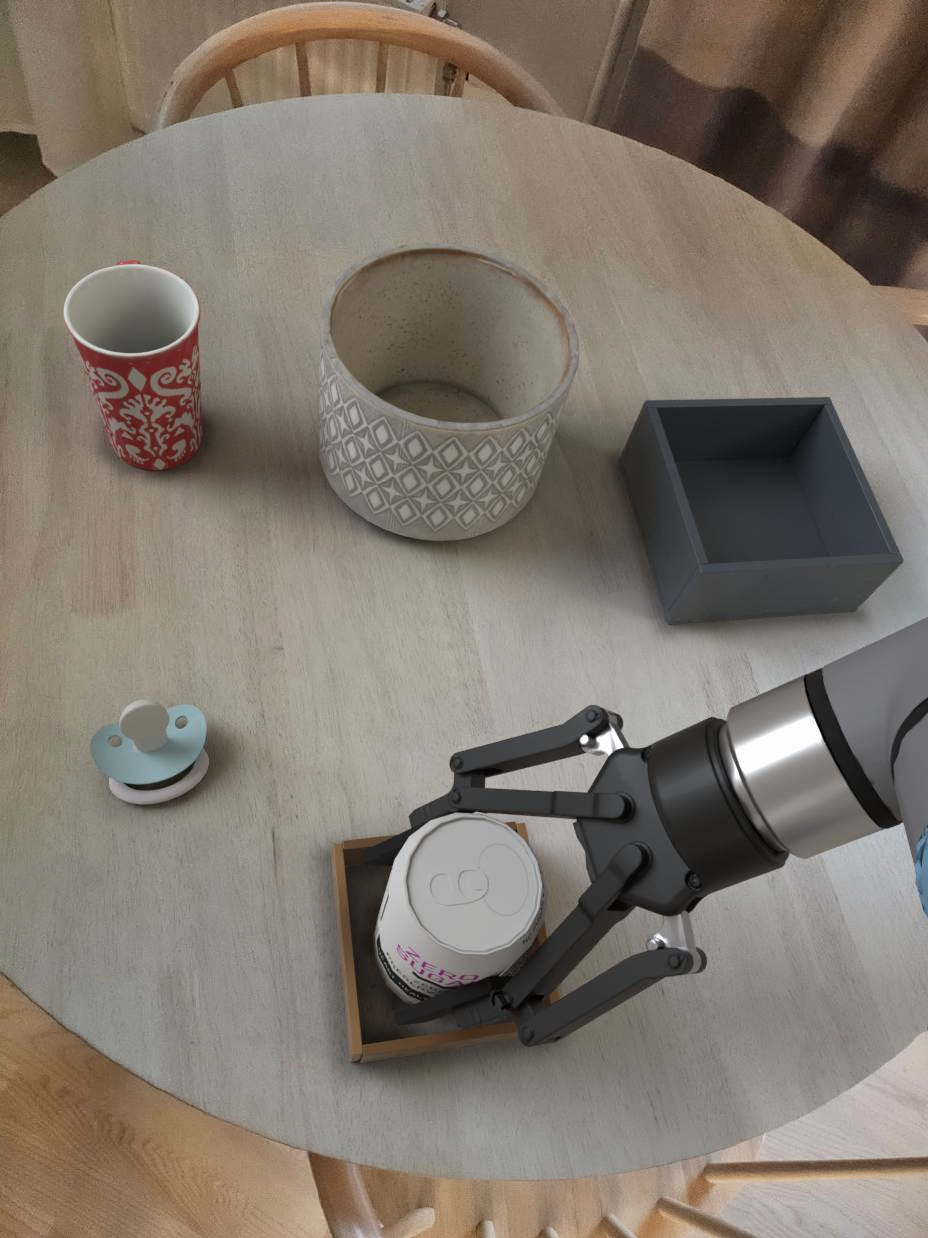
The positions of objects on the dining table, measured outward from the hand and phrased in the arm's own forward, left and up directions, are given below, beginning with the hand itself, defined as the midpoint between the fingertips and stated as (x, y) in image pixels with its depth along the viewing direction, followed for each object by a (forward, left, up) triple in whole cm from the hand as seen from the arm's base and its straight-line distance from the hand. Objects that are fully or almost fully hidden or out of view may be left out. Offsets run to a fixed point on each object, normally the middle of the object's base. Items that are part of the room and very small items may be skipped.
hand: (393, 935), depth 54 cm
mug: (+44, +14, -6) cm, 47 cm away
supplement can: (0, -3, -6) cm, 7 cm away
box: (0, -3, -6) cm, 7 cm away
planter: (+39, -8, -6) cm, 41 cm away
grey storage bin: (+30, -33, -6) cm, 45 cm away
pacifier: (+14, +14, -6) cm, 21 cm away
